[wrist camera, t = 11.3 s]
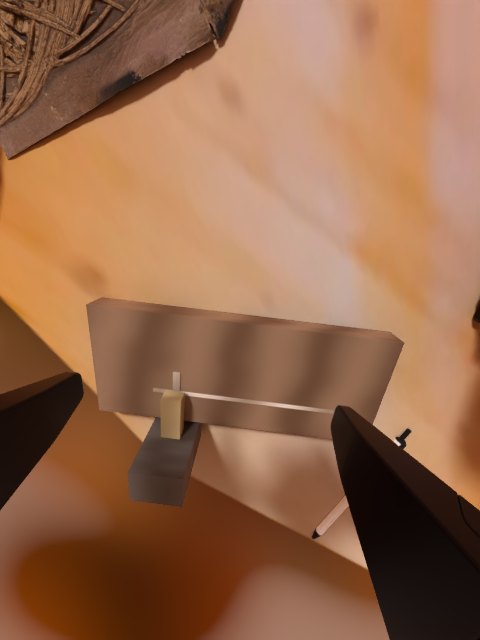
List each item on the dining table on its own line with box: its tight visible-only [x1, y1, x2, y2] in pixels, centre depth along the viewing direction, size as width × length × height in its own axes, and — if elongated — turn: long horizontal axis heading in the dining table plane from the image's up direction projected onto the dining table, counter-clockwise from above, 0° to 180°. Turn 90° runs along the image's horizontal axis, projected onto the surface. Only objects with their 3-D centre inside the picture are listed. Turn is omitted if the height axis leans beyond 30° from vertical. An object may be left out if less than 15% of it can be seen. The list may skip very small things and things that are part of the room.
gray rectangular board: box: [86, 298, 404, 439], centre depth 21 cm, size 24×10×2 cm, turn 84°
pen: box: [312, 429, 411, 539], centre depth 26 cm, size 1×19×1 cm, turn 158°
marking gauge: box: [128, 390, 201, 507], centre depth 20 cm, size 4×7×7 cm, turn 174°
